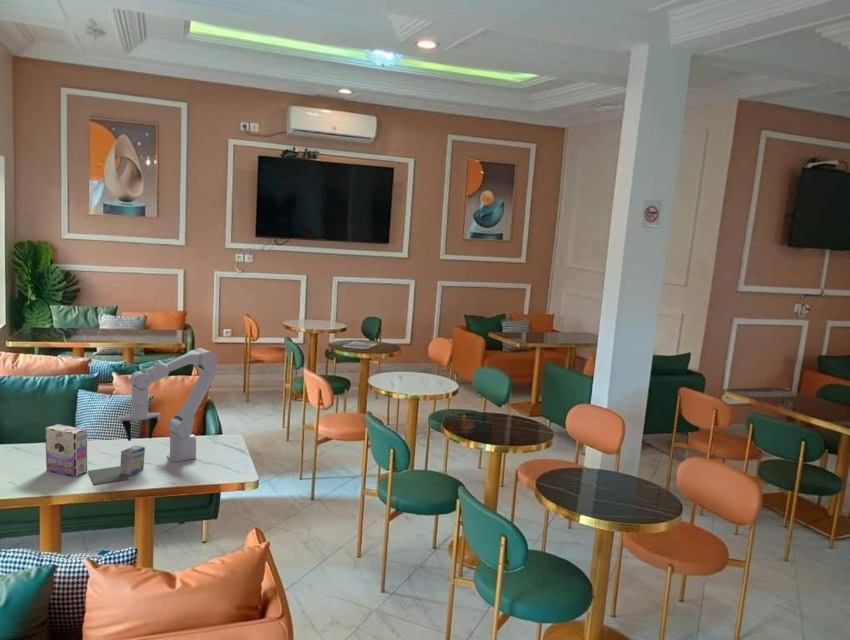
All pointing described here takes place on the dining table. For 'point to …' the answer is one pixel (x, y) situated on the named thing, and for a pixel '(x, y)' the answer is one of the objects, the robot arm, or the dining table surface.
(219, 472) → the dining table surface
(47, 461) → the candy box
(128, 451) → the medicine box
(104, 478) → the mat
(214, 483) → the dining table surface
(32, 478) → the dining table surface
